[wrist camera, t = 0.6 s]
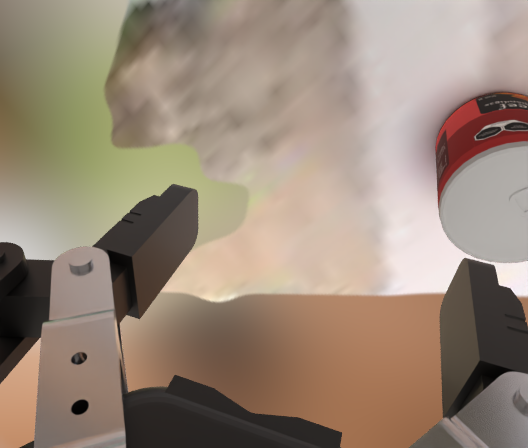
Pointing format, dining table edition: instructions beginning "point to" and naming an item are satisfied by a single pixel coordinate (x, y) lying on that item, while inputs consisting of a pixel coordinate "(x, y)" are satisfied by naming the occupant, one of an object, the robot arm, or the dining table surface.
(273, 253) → the dining table surface
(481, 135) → the canned food
